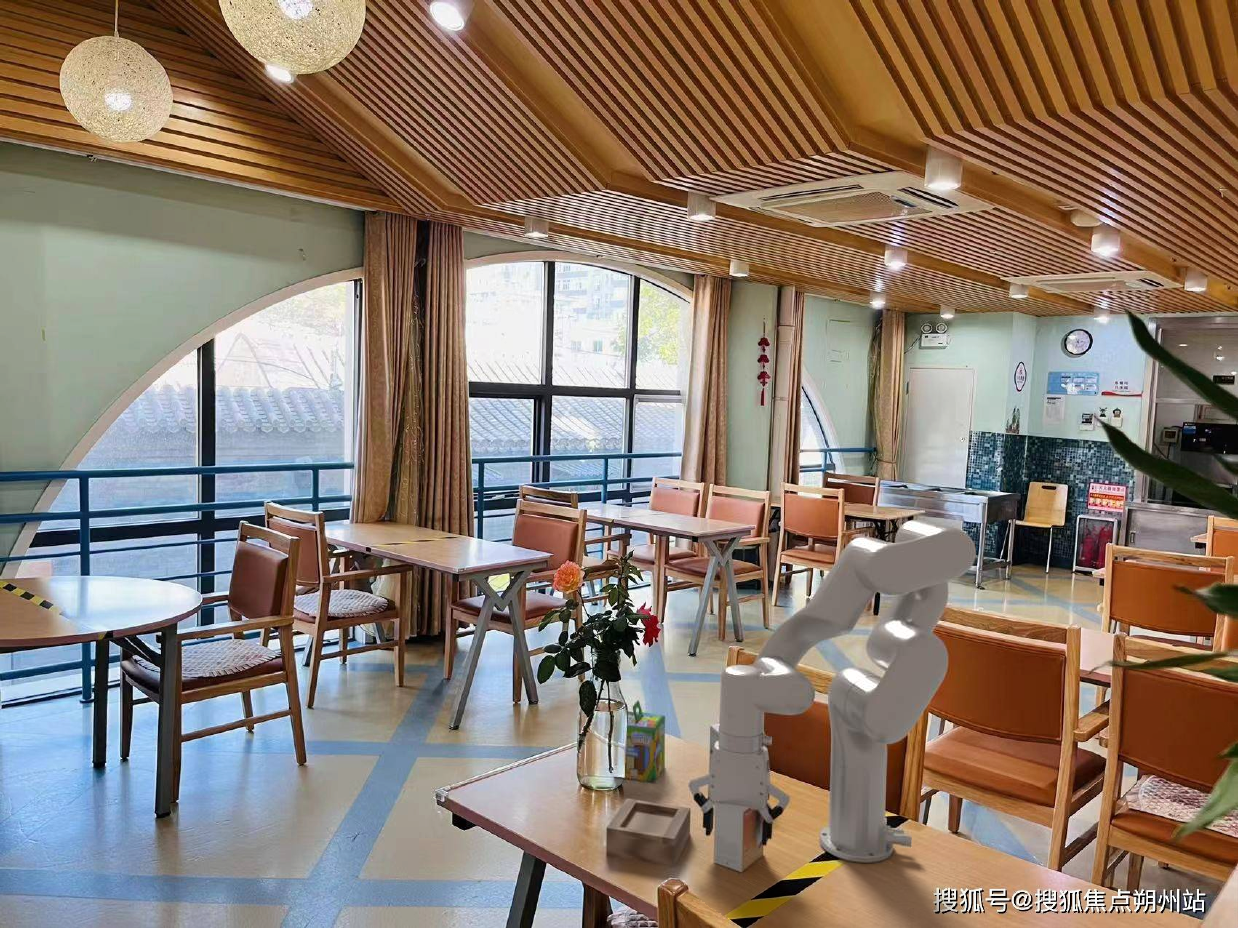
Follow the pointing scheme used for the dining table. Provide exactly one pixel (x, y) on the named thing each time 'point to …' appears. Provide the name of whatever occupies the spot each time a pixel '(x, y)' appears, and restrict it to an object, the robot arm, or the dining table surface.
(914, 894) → the dining table surface
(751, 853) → the small box
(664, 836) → the walnut base brick
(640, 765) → the chalk box
